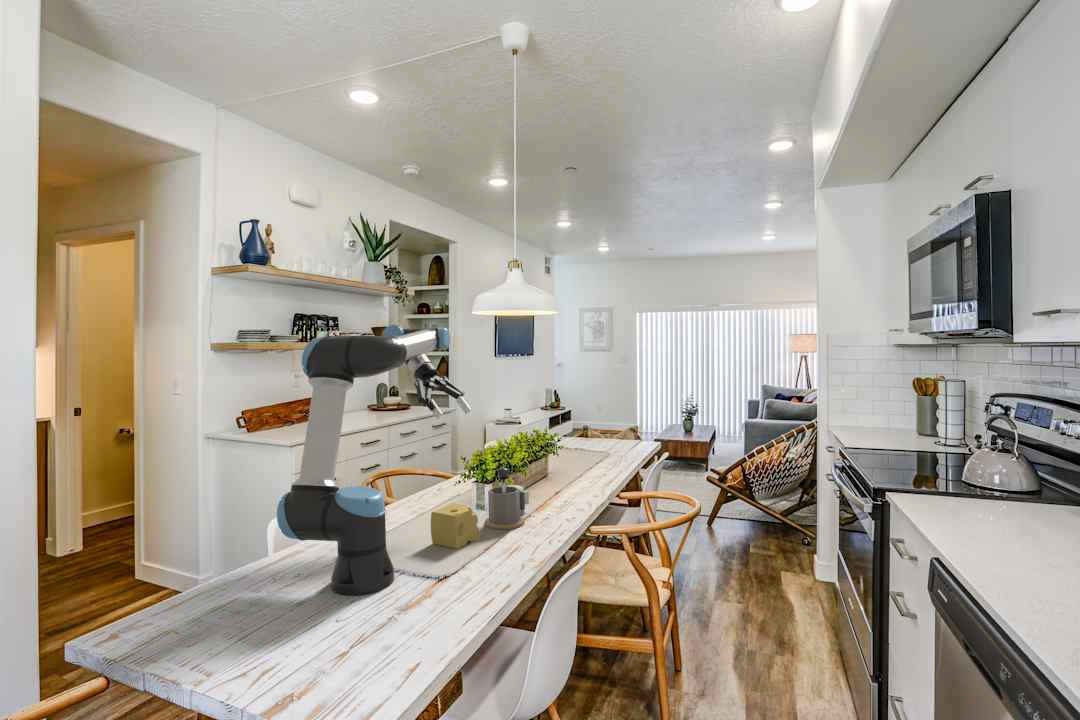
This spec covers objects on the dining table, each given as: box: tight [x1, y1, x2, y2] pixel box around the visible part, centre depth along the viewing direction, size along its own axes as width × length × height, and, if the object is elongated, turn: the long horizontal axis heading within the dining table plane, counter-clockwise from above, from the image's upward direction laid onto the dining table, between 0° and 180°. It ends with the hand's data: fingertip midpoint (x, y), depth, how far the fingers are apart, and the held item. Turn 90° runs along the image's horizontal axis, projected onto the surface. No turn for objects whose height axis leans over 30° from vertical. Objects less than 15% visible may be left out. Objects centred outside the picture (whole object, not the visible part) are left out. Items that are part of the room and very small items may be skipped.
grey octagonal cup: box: [484, 485, 526, 531], centre depth 185 cm, size 13×13×11 cm
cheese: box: [430, 502, 480, 550], centre depth 169 cm, size 10×11×10 cm
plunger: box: [497, 467, 510, 494], centre depth 184 cm, size 6×6×16 cm
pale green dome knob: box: [507, 484, 530, 516], centre depth 195 cm, size 8×10×9 cm
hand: (454, 414), depth 190 cm, fingers open, 13 cm apart
